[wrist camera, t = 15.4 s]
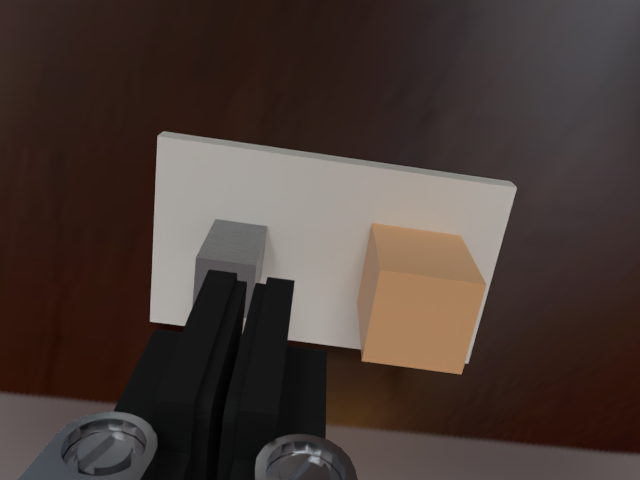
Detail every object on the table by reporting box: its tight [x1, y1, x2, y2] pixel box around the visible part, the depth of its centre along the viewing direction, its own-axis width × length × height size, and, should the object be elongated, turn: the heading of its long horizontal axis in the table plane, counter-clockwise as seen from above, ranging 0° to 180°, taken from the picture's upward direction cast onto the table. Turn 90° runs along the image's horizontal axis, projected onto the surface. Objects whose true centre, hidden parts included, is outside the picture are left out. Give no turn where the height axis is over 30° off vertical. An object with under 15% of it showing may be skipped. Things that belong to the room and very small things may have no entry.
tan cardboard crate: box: [357, 223, 486, 374], centre depth 40 cm, size 6×6×8 cm
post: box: [192, 219, 267, 318], centre depth 40 cm, size 4×4×8 cm
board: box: [150, 131, 517, 364], centre depth 44 cm, size 14×24×2 cm, turn 82°
